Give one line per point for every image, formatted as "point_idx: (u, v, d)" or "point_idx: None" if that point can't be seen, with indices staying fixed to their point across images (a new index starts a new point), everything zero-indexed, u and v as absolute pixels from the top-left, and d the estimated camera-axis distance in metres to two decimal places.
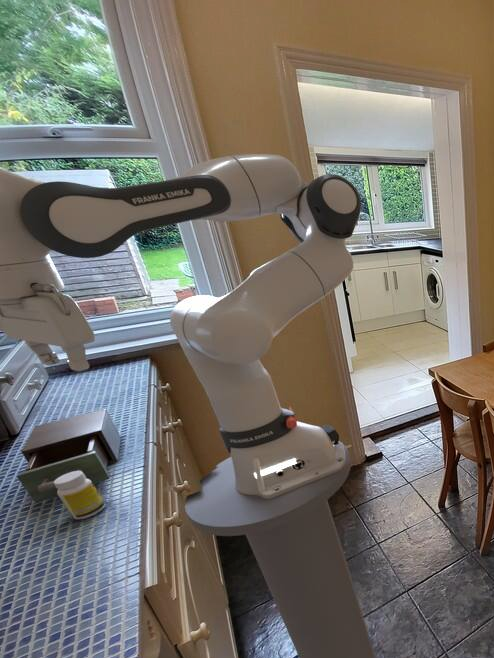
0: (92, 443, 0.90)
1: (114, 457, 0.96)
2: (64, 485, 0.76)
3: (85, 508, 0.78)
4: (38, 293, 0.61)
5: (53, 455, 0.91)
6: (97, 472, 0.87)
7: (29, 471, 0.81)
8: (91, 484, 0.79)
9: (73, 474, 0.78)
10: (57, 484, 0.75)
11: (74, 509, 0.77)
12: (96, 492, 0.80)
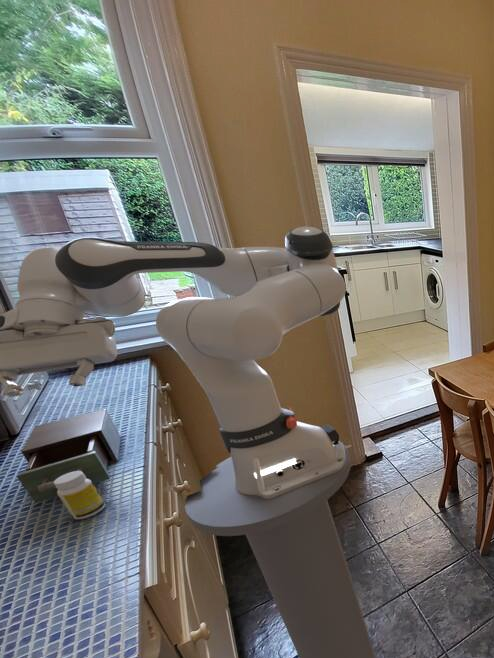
0: (92, 443, 0.90)
1: (114, 457, 0.96)
2: (64, 485, 0.76)
3: (85, 508, 0.78)
4: None
5: (53, 455, 0.91)
6: (97, 472, 0.87)
7: (29, 471, 0.81)
8: (91, 484, 0.79)
9: (73, 474, 0.78)
10: (57, 484, 0.75)
11: (74, 509, 0.77)
12: (96, 492, 0.80)
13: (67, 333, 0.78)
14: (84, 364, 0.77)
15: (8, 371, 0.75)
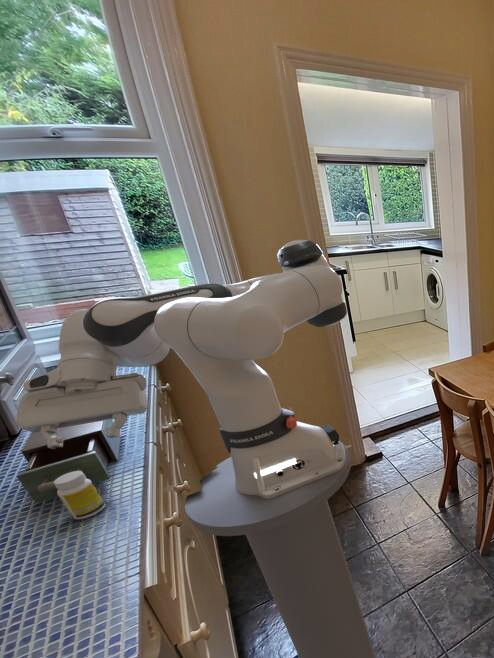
0: (92, 443, 0.90)
1: (114, 457, 0.96)
2: (64, 485, 0.76)
3: (85, 508, 0.78)
4: None
5: (53, 455, 0.91)
6: (97, 472, 0.87)
7: (29, 471, 0.81)
8: (91, 484, 0.79)
9: (73, 474, 0.78)
10: (57, 484, 0.75)
11: (74, 509, 0.77)
12: (96, 492, 0.80)
13: (104, 389, 0.86)
14: (119, 417, 0.85)
15: (51, 425, 0.82)
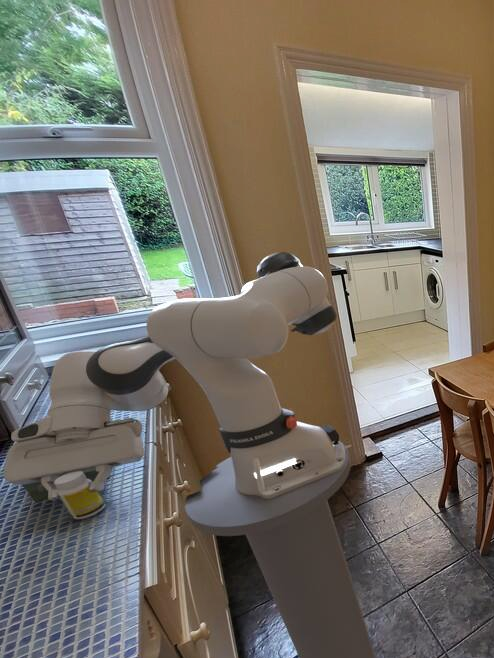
0: None
1: None
2: (64, 485, 0.76)
3: (85, 508, 0.78)
4: (109, 427, 0.83)
5: None
6: (97, 472, 0.87)
7: None
8: None
9: (74, 474, 0.78)
10: (57, 484, 0.75)
11: (74, 509, 0.77)
12: (96, 492, 0.80)
13: (97, 437, 0.81)
14: (103, 470, 0.80)
15: (40, 478, 0.77)
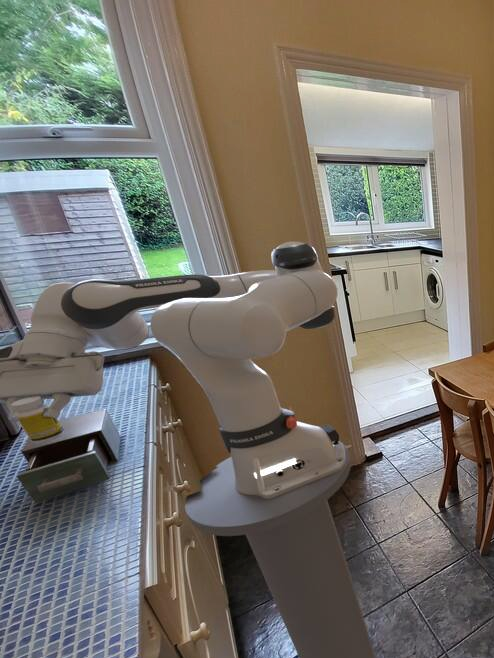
0: (92, 443, 0.90)
1: (114, 457, 0.96)
2: (18, 408, 0.78)
3: (39, 433, 0.80)
4: (75, 358, 0.84)
5: (53, 455, 0.91)
6: (97, 472, 0.87)
7: (29, 471, 0.81)
8: None
9: (31, 399, 0.80)
10: (12, 406, 0.78)
11: (28, 433, 0.79)
12: (53, 419, 0.82)
13: (60, 366, 0.82)
14: (58, 398, 0.81)
15: (8, 398, 0.81)
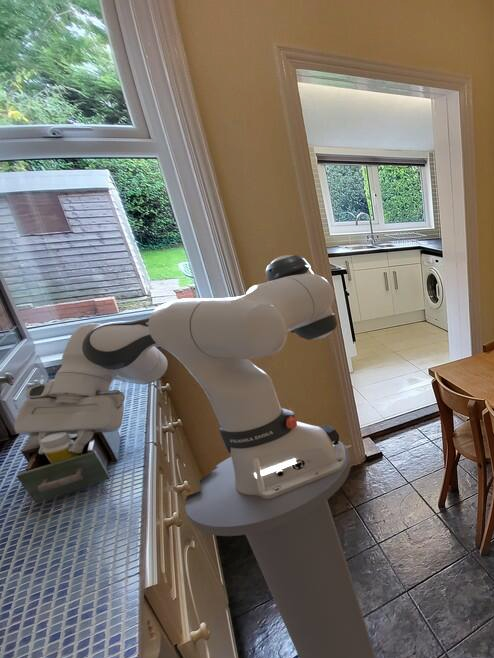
0: (92, 443, 0.90)
1: (114, 457, 0.96)
2: (46, 444, 0.84)
3: None
4: (99, 396, 0.91)
5: None
6: (97, 472, 0.87)
7: (29, 471, 0.81)
8: None
9: (58, 435, 0.86)
10: (41, 442, 0.84)
11: None
12: (77, 453, 0.88)
13: (84, 404, 0.89)
14: (81, 435, 0.87)
15: (39, 433, 0.88)
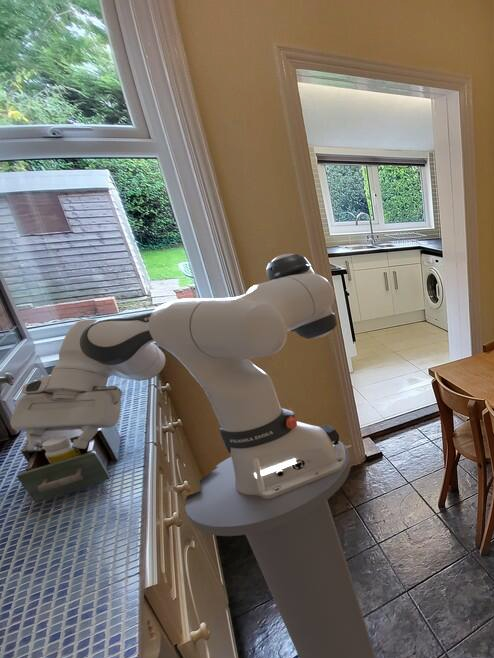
0: (92, 443, 0.90)
1: (114, 457, 0.96)
2: (47, 448, 0.85)
3: None
4: (96, 391, 0.90)
5: None
6: (97, 472, 0.87)
7: (29, 471, 0.81)
8: (74, 449, 0.88)
9: (60, 439, 0.86)
10: (43, 446, 0.85)
11: None
12: None
13: (81, 400, 0.88)
14: (86, 430, 0.86)
15: (35, 429, 0.87)
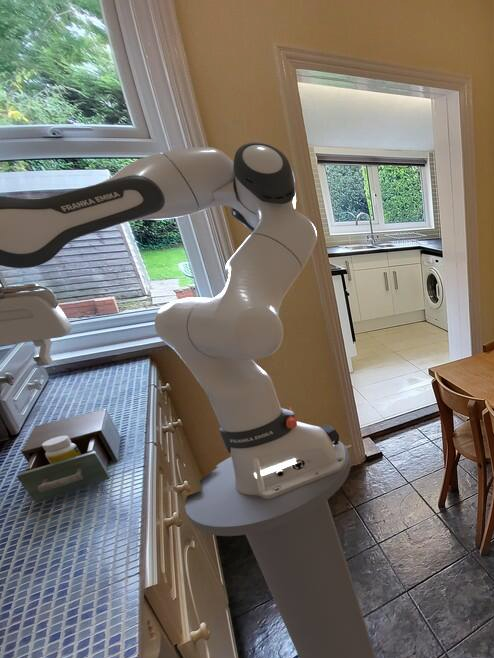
0: (92, 443, 0.90)
1: (114, 457, 0.96)
2: (47, 448, 0.85)
3: None
4: (9, 295, 0.68)
5: None
6: (97, 472, 0.87)
7: (29, 471, 0.81)
8: (74, 449, 0.88)
9: (60, 439, 0.86)
10: (43, 446, 0.85)
11: None
12: None
13: (1, 311, 0.67)
14: (44, 345, 0.71)
15: None
